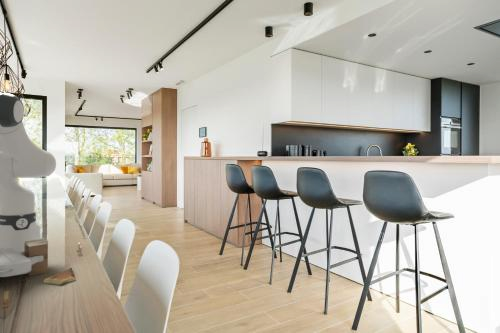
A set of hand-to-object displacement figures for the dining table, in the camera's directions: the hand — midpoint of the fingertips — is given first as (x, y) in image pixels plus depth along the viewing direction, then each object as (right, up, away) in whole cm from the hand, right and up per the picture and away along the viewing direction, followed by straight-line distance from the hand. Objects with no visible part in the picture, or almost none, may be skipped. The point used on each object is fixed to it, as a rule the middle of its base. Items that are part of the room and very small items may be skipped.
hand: (39, 255), depth 103 cm
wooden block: (-1, -5, -1) cm, 5 cm away
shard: (+10, -6, -6) cm, 13 cm away
